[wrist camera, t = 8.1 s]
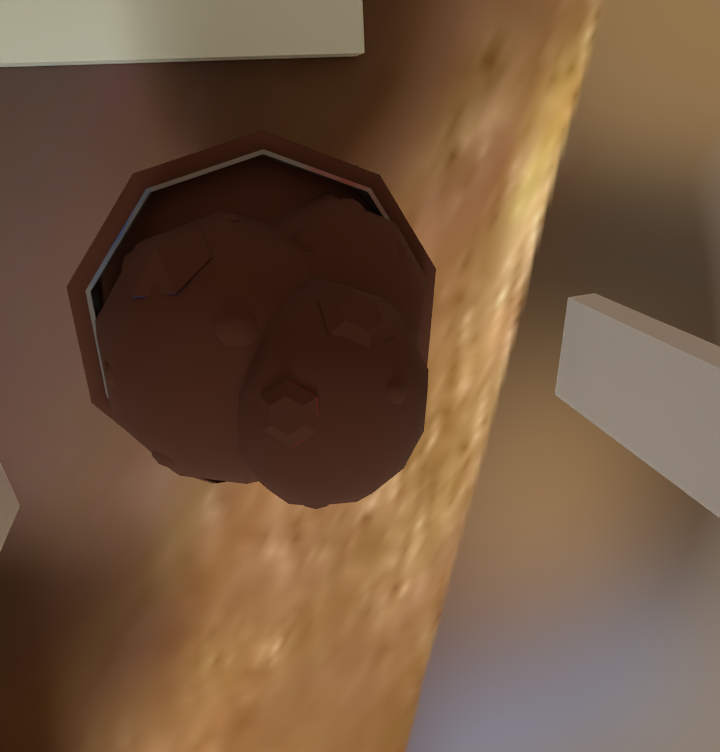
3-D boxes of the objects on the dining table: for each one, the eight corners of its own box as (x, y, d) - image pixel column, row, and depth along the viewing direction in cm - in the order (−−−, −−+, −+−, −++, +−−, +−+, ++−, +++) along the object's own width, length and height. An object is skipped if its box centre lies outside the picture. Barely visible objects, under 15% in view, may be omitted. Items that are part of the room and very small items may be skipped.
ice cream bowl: (354, 132, 23) (573, 141, 10) (349, 362, 28) (494, 567, 15) (91, 124, 20) (-68, 122, 7) (136, 383, 25) (88, 661, 12)
